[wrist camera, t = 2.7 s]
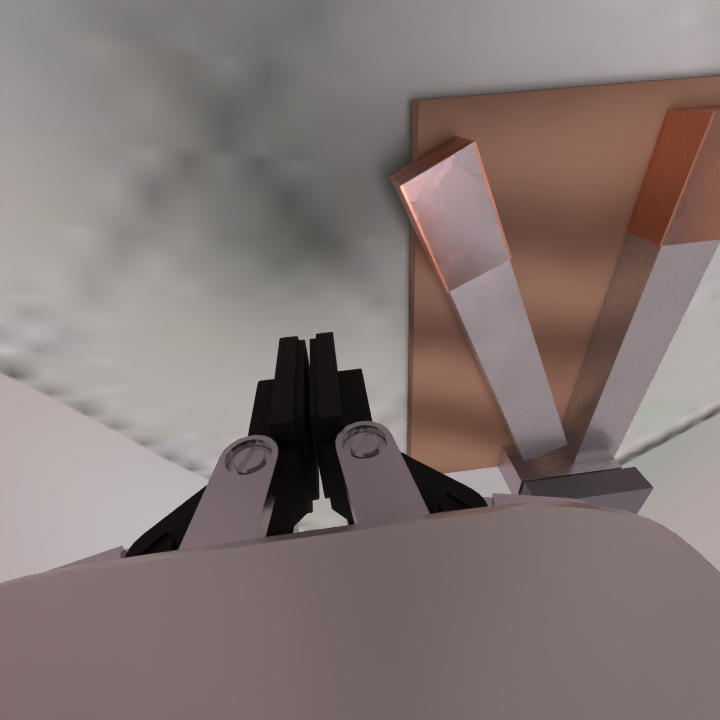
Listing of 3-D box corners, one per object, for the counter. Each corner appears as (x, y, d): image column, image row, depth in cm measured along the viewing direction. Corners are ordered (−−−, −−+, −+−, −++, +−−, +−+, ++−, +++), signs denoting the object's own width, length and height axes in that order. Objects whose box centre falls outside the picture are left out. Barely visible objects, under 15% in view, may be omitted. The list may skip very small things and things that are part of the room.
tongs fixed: (576, 117, 15) (626, 121, 13) (735, 103, 16) (812, 105, 13) (497, 466, 28) (515, 501, 26) (586, 454, 29) (612, 487, 26)
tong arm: (389, 176, 16) (400, 186, 14) (456, 135, 15) (475, 141, 13) (508, 437, 26) (523, 462, 24) (551, 419, 26) (569, 443, 24)
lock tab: (524, 482, 24) (536, 504, 23) (635, 466, 25) (653, 487, 23) (516, 509, 26) (527, 531, 25) (619, 494, 26) (635, 515, 25)
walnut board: (411, 100, 16) (418, 100, 15) (754, 72, 16) (782, 70, 15) (407, 465, 29) (410, 478, 28) (595, 439, 30) (605, 451, 29)
